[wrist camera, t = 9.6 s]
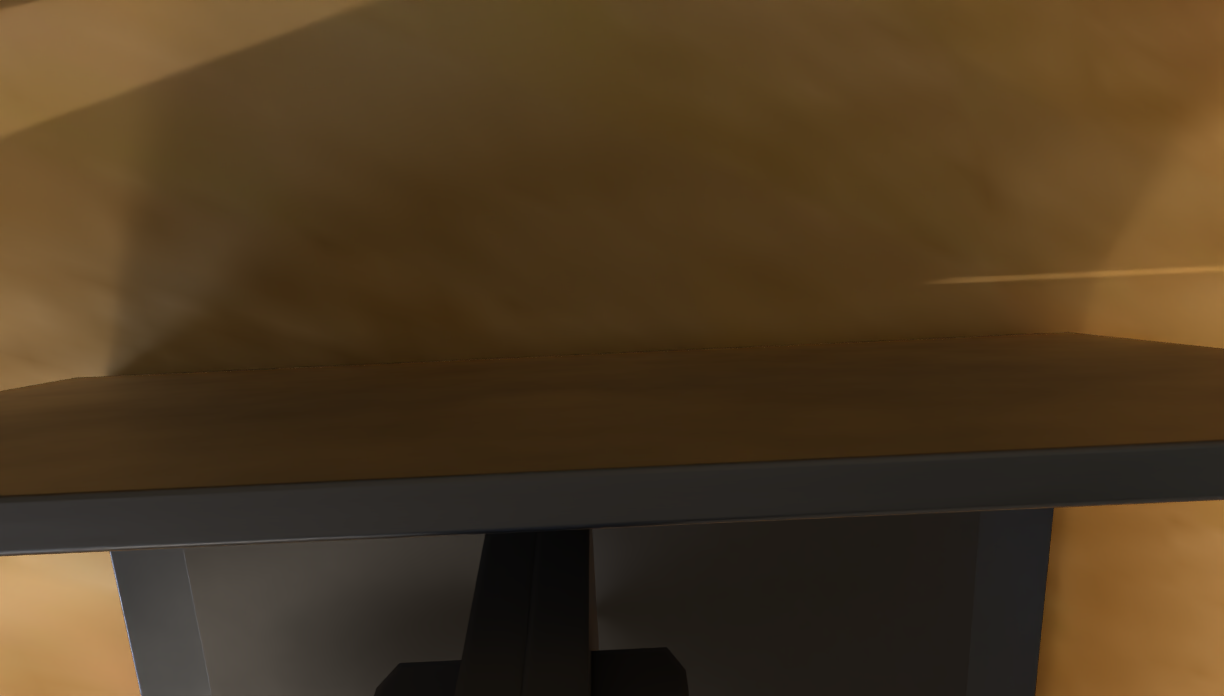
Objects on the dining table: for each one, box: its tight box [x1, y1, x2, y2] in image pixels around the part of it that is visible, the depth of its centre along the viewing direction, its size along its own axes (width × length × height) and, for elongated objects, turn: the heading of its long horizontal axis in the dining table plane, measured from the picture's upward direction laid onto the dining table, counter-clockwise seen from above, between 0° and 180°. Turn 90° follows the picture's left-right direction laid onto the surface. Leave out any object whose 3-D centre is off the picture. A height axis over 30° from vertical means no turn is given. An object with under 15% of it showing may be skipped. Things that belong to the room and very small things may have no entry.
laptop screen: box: [0, 332, 1224, 556], centre depth 23 cm, size 21×30×1 cm
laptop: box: [110, 508, 1054, 696], centre depth 38 cm, size 21×30×2 cm
